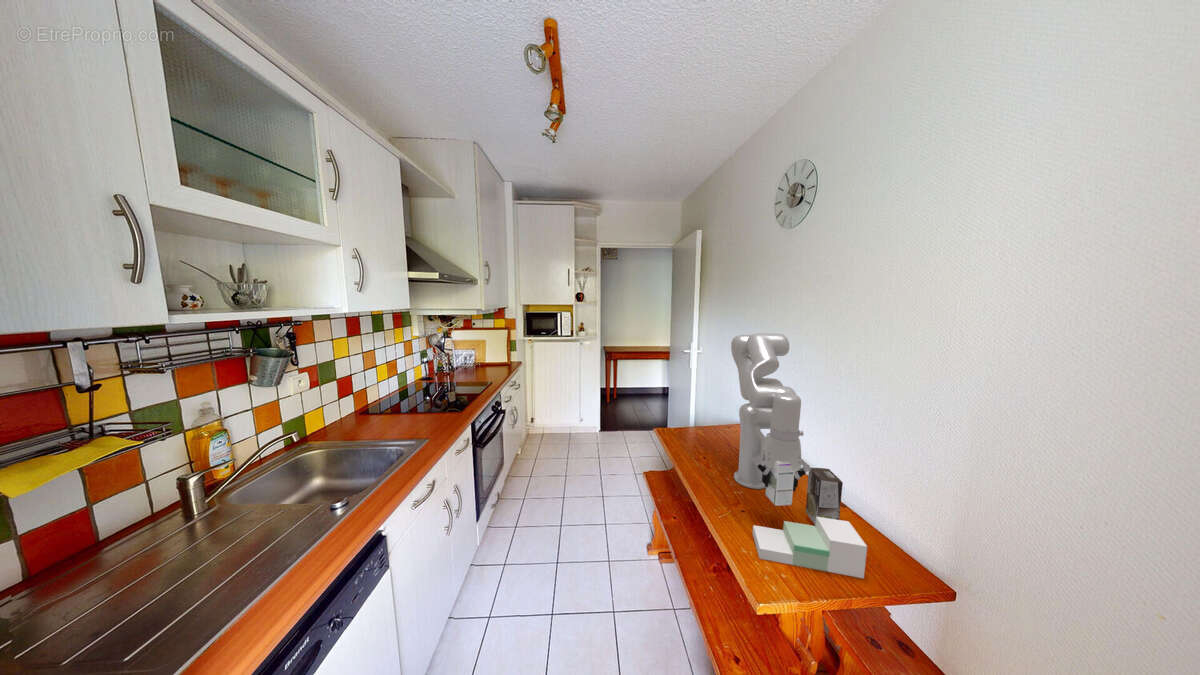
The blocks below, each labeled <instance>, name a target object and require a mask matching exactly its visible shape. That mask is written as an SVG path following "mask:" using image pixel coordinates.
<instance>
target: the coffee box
mask: <svg viewBox="0 0 1200 675" xmlns="http://www.w3.org/2000/svg"><path fill="white" fill-rule="evenodd" d="M807 475H808V478H807V490H806V501H805V502H806V504H805V512H806V514H807V516H808V517H809V519H810V520H811V522H812V523H813V525H815V523H816V517H823V518H829V519H836V520H840V513H841V502H842V494H843V493H842V492H843V484H844V482H843V481H842V480H841V479H840V478H839V477H838V476H837V475H836V474H835V473H834V472H833V471H831V469H830V468H823V467H811V469H810V470H809V471H808V474H807Z"/></svg>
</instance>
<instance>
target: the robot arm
mask: <svg viewBox="0 0 1200 675" xmlns="http://www.w3.org/2000/svg"><path fill="white" fill-rule="evenodd" d="M788 339H789V338H788V337H787V336H786V335H784V334H782V333H764V332H760V333H753V334H740V335H737V336H735V337H733V338H732V340H731V343H730V344H731V345H730V347H731V348H730V350H731V356H732V359H733V361H734V363H735V365H736V368H737V373H738V380H739V388H740V389H739V390H740V395H741V397H742V398H743V400H746V401H748V403H744V404H742V405H740V408H739V410H738V413H739V414H738V416H739V426H740V433H739V434H740V436H739V437H740V438H739V454H738V455H739V456H738V470H737V471H735V472H734V473H733V479H734V481H735V482H736V483H738V484H739V485H741V486H743V487H744V488H745V487H746V488H749V489H754V490H762V489H765V487H768V483H769V475H768V473H769V471H770V470H771V469H774V466H775V461H789V463H790V464H791V468H792V470H793V471H795V472H794V483H793V492H796V488H798V485H799V480H800V479H801V477H803V476H805V475H806V473H809V470H810V469H811V468H812V467H811V465H810V464H809V463H807V462H806V461H805V460H804V459H803V458H802V445H801V440H800V437H802V436H804V431H803V430H802V431H801V430H800V428H799V427H800V419H801V409H802V399H801V397H800V396H799V395H798V394H797V393H796V391H795V390H794V389H793V388H792V387H790V386H787V385H786V386H785V385H783V383H782V382H781V380H779V379H777V378H771V377H770V378H769V377H766V376H769V375H771V374H774V373H775V372H776V371H777V370H778V369H779V368H780V362H779V359H778V357H784V356H786V355H788V353H789V351H790V342H789V340H788ZM762 429H763V430H769V432H768V433H766V436H765V434H764V433H763V432H762Z"/></svg>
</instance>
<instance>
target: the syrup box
mask: <svg viewBox="0 0 1200 675" xmlns="http://www.w3.org/2000/svg"><path fill="white" fill-rule="evenodd" d="M794 472H795V471H793V470H792V468H791V464H790V463H789V461H775V466H774V469H771V470H770V471H769V473H768V475H769V483H768V487H765V488H764V489H765V491H764V492H765V493H764V495H765V497H766V498H767V499H768V500H769V501H770V502H771V503H772V504H773V505H774V506H791V505H792V503H793V495H794V494H793V493H794V491H793V483H794Z"/></svg>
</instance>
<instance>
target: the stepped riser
mask: <svg viewBox="0 0 1200 675" xmlns="http://www.w3.org/2000/svg"><path fill="white" fill-rule="evenodd" d="M752 536H753V541H754V544H755V547H756V551H757V556H758V559H760V560H765V561H769V562H774V563H776V562H777V563H781V564H785V565H786V564H787V565H791V566H796V567H801V568H807V569H812V570H817V571H822V572H828V573H833V574H838V575H843V576H849V577H854V578H859V579H865V571H866V570H865V569H866V560H867V552H868V545H867V544H866V542H865V541H864V540H863V539H862V537H861V536H860V535H859V533H858V532H857V531H856V529H855V528H854V526H853V525H852V524H851V523H850V521H848V520H841V519H839V520H836V519H829V518H823V517H816V523H815V524H814V525H811V524H804V523H799V522H793V521H786V520H783V526H782V529H779V528H778V529H777V528H772V527H768V526H760V525H754V524H753V526H752Z"/></svg>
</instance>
